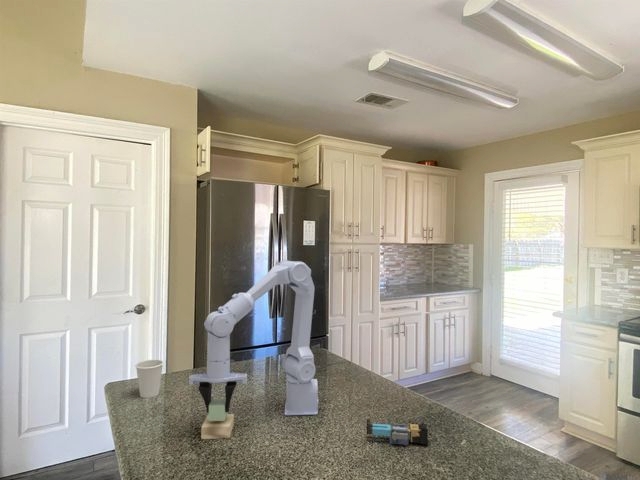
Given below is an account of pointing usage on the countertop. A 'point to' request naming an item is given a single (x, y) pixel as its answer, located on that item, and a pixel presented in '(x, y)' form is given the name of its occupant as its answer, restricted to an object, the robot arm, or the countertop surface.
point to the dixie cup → (149, 377)
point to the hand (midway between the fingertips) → (218, 410)
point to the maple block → (217, 428)
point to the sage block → (217, 410)
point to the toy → (400, 432)
